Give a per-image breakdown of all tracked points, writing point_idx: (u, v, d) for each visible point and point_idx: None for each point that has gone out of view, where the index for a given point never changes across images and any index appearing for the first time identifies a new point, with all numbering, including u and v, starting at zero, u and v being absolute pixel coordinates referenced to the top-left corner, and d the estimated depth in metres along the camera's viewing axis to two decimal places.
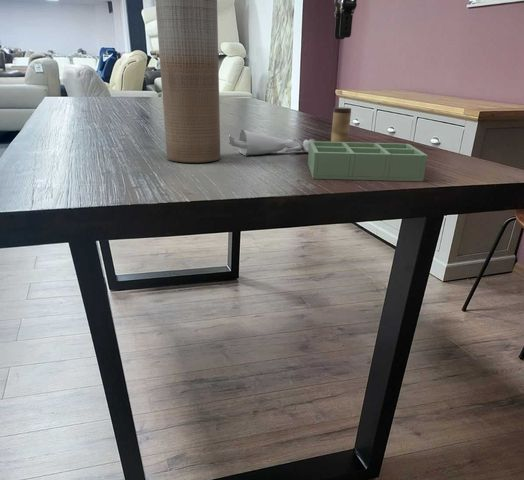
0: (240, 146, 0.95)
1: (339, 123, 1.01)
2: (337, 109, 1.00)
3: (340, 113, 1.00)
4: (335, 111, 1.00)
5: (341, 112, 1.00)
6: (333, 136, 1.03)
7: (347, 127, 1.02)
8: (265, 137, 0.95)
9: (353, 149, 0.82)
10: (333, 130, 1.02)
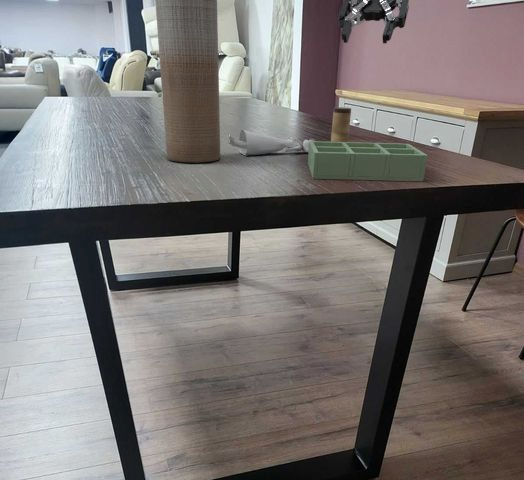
0: (240, 146, 0.95)
1: (339, 123, 1.01)
2: (337, 109, 1.00)
3: (340, 113, 1.00)
4: (335, 111, 1.00)
5: (341, 112, 1.00)
6: (333, 136, 1.03)
7: (347, 127, 1.02)
8: (265, 137, 0.95)
9: (353, 149, 0.82)
10: (333, 130, 1.02)
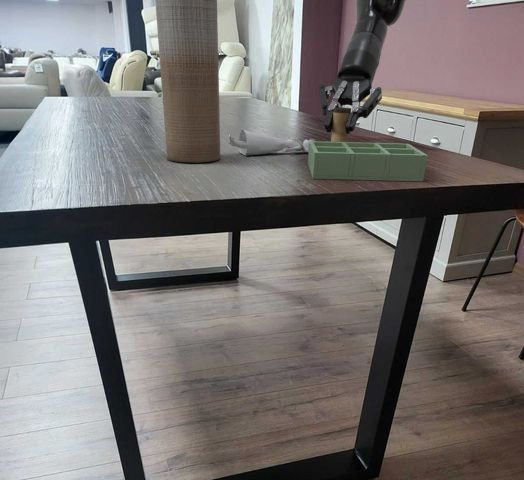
0: (240, 146, 0.95)
1: (339, 123, 1.01)
2: (337, 109, 1.00)
3: (340, 113, 1.00)
4: (335, 111, 1.00)
5: (341, 112, 1.00)
6: (333, 136, 1.03)
7: None
8: (265, 137, 0.95)
9: (353, 149, 0.82)
10: (333, 130, 1.02)
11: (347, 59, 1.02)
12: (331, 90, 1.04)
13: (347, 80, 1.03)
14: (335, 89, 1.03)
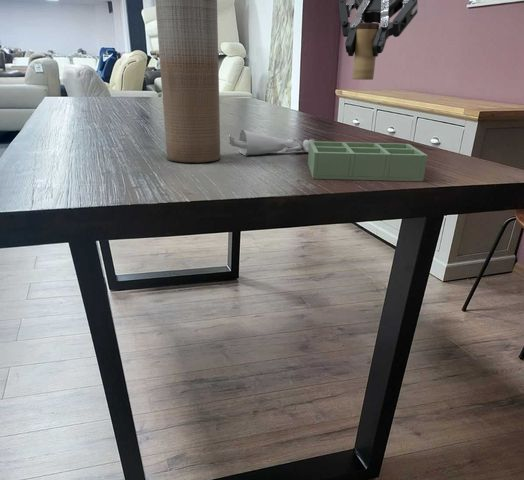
0: (240, 146, 0.95)
1: (364, 43, 0.80)
2: (362, 24, 0.79)
3: (365, 28, 0.80)
4: (359, 27, 0.80)
5: (367, 27, 0.79)
6: (357, 60, 0.82)
7: None
8: (265, 137, 0.95)
9: (353, 149, 0.82)
10: (356, 53, 0.82)
11: None
12: (353, 5, 0.84)
13: None
14: (358, 3, 0.83)
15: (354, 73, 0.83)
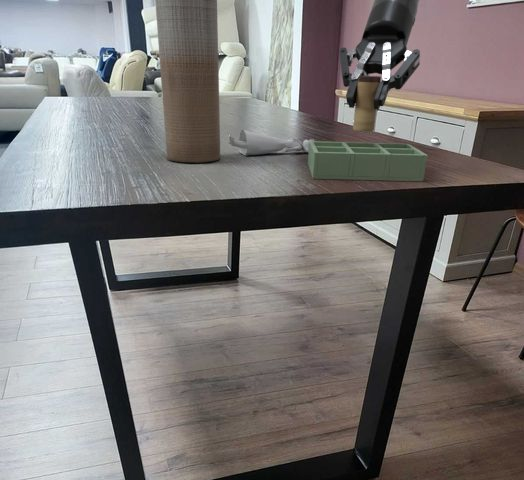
0: (240, 146, 0.95)
1: (365, 96, 0.79)
2: (363, 77, 0.78)
3: (367, 82, 0.78)
4: (360, 80, 0.79)
5: (368, 81, 0.78)
6: (358, 112, 0.81)
7: None
8: (265, 137, 0.95)
9: (353, 149, 0.82)
10: (357, 105, 0.80)
11: (376, 14, 0.80)
12: (354, 55, 0.83)
13: (375, 41, 0.81)
14: (360, 53, 0.81)
15: (355, 124, 0.82)
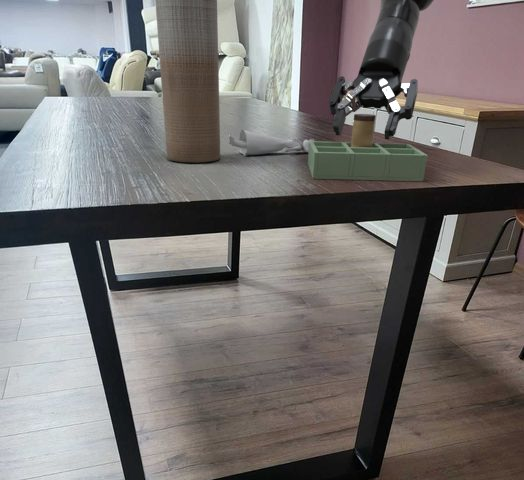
0: (240, 146, 0.95)
1: (361, 134, 0.82)
2: (359, 116, 0.81)
3: (362, 121, 0.81)
4: (356, 119, 0.81)
5: (364, 120, 0.81)
6: None
7: (370, 138, 0.83)
8: (265, 137, 0.95)
9: (353, 149, 0.82)
10: (353, 142, 0.83)
11: (371, 51, 0.82)
12: (351, 89, 0.85)
13: (371, 77, 0.84)
14: None
15: None
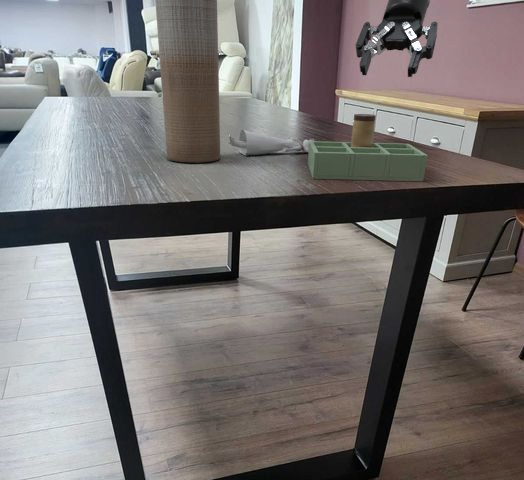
0: (240, 146, 0.95)
1: (361, 134, 0.82)
2: (359, 116, 0.81)
3: (362, 121, 0.81)
4: (356, 119, 0.81)
5: (364, 120, 0.81)
6: None
7: (370, 138, 0.83)
8: (265, 137, 0.95)
9: (353, 149, 0.82)
10: (353, 142, 0.83)
11: None
12: (376, 34, 0.93)
13: (394, 22, 0.92)
14: None
15: None
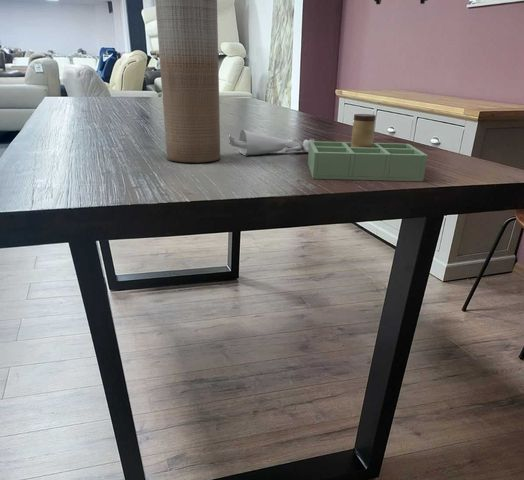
0: (240, 146, 0.95)
1: (361, 134, 0.82)
2: (359, 116, 0.81)
3: (362, 121, 0.81)
4: (356, 119, 0.81)
5: (364, 120, 0.81)
6: None
7: (370, 138, 0.83)
8: (265, 137, 0.95)
9: (353, 149, 0.82)
10: (353, 142, 0.83)
11: None
12: None
13: None
14: None
15: None
